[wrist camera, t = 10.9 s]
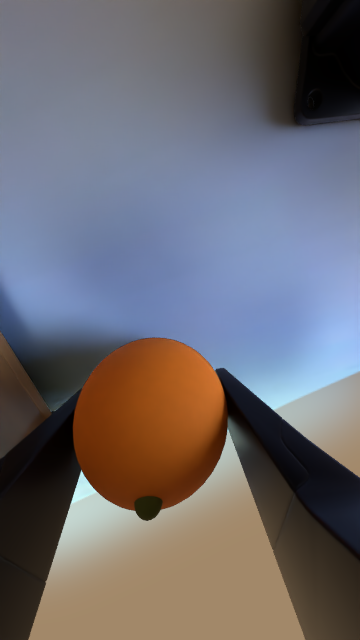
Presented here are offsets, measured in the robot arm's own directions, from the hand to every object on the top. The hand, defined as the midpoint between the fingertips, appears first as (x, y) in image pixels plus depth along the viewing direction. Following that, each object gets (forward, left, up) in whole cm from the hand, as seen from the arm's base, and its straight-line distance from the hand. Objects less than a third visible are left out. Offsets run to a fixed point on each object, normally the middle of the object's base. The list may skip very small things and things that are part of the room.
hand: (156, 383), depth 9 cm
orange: (0, 0, -2) cm, 2 cm away
